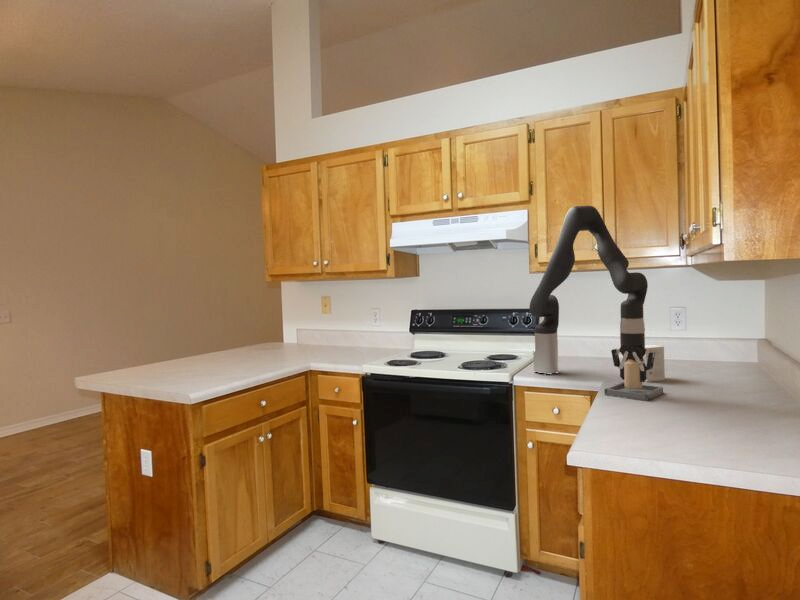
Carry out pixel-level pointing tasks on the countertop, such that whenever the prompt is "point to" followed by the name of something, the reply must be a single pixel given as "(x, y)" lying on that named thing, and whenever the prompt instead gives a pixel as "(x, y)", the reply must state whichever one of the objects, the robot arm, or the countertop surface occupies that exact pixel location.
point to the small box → (655, 363)
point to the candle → (632, 375)
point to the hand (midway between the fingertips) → (633, 380)
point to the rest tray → (634, 391)
